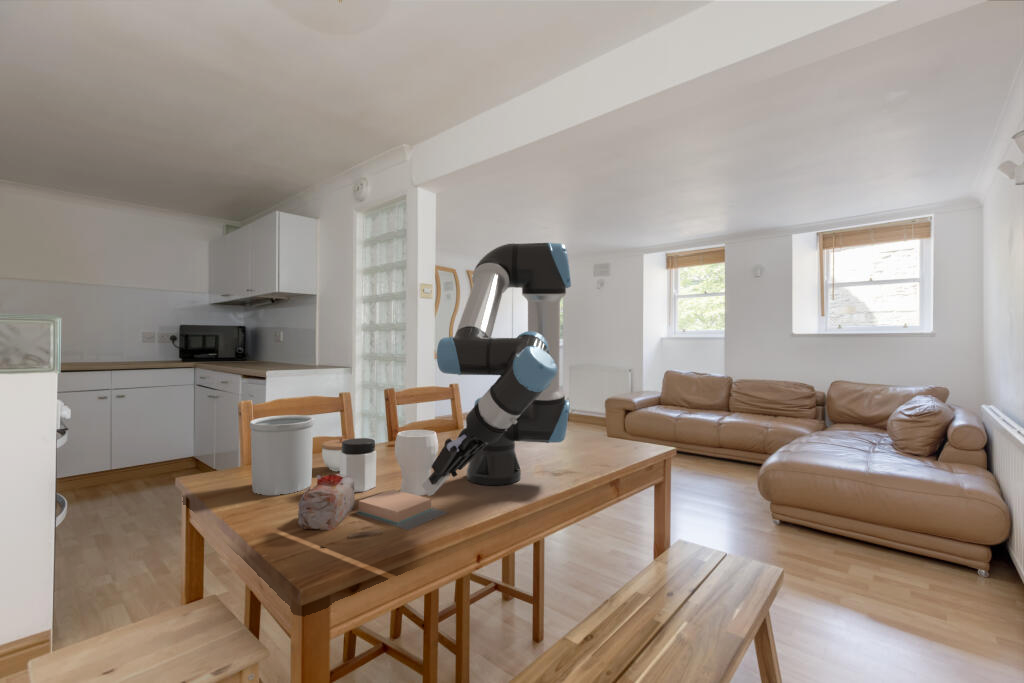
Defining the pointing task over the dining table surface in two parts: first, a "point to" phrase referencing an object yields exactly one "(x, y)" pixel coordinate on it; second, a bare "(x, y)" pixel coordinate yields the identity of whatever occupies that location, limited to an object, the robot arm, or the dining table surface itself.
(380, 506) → the tile
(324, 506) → the food item
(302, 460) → the utensil holder
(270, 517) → the dining table surface
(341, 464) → the jar
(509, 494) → the dining table surface
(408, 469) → the cup
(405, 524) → the mat
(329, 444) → the lidded jar
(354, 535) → the spatula
